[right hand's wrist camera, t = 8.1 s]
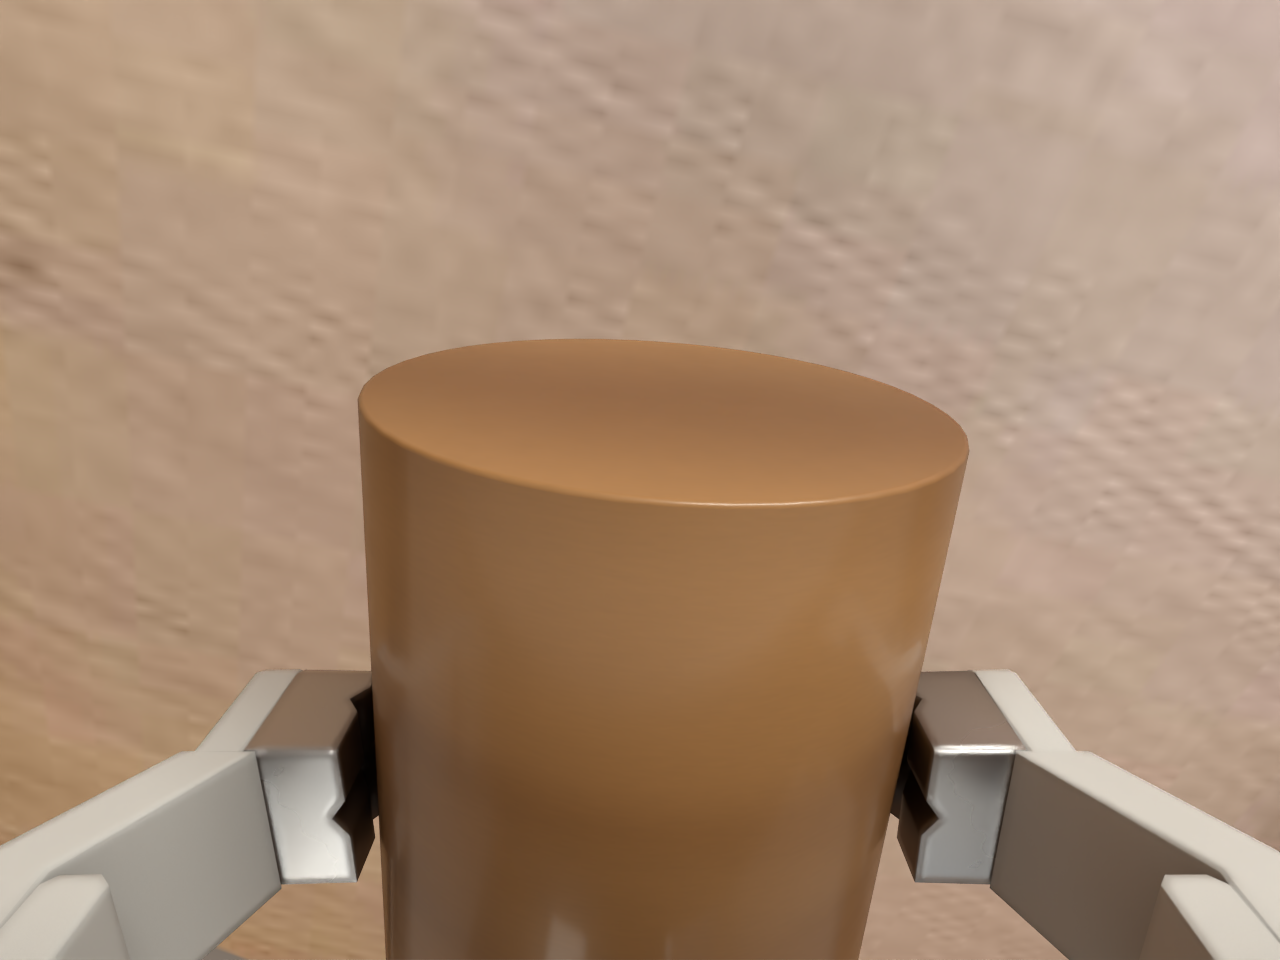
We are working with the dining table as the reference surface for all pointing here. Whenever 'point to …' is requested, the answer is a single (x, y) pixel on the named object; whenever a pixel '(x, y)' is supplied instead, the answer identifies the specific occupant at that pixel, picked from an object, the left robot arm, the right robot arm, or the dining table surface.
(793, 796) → the rod
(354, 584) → the dining table surface
